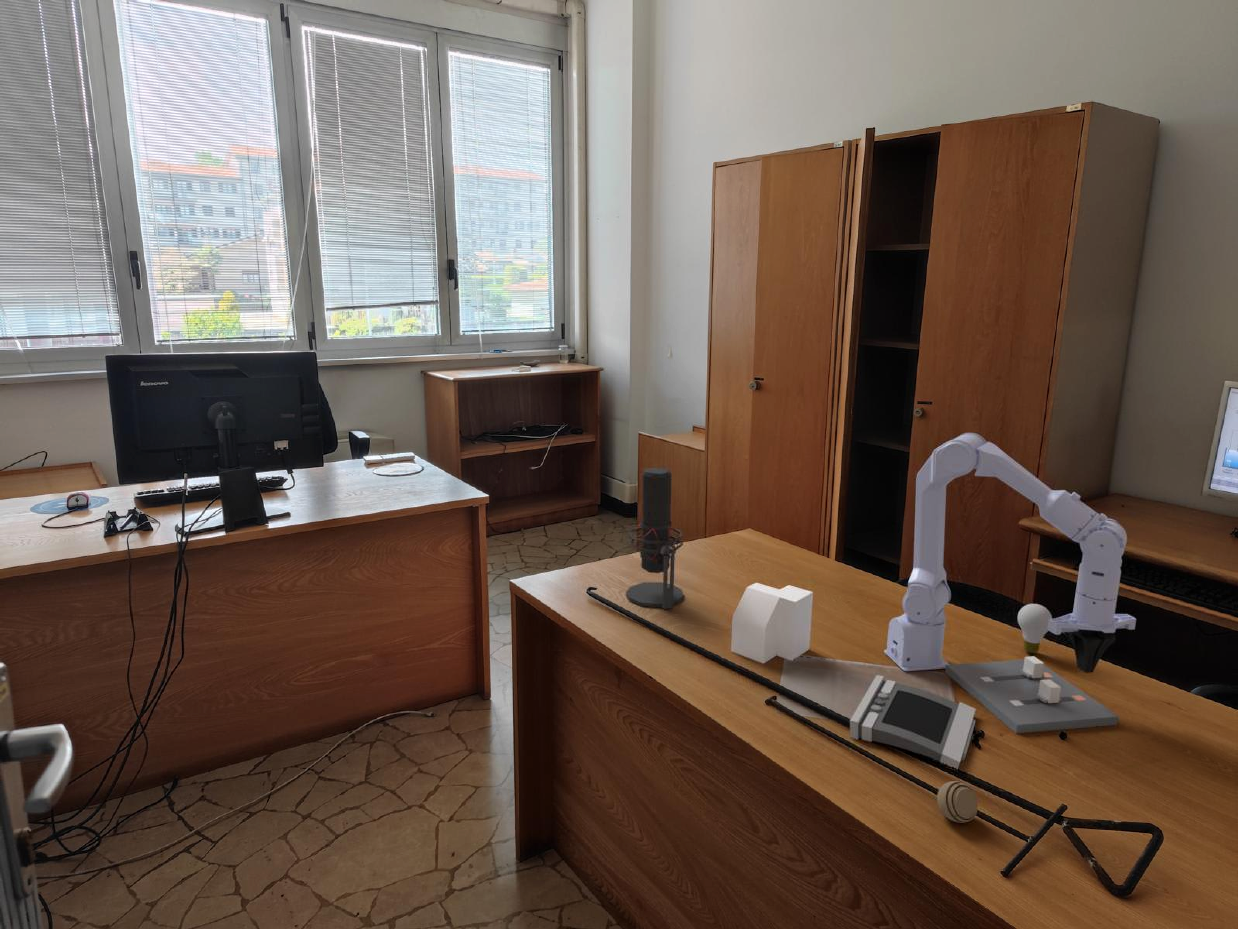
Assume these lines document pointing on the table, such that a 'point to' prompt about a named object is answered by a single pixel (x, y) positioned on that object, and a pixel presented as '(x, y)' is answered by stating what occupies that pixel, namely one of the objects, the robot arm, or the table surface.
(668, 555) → the microphone
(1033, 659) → the breaker on
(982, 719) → the table surface
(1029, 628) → the light bulb
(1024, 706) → the panel
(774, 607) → the white chamfered block
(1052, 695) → the breaker
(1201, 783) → the table surface
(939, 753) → the alarm clock
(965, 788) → the door knob
